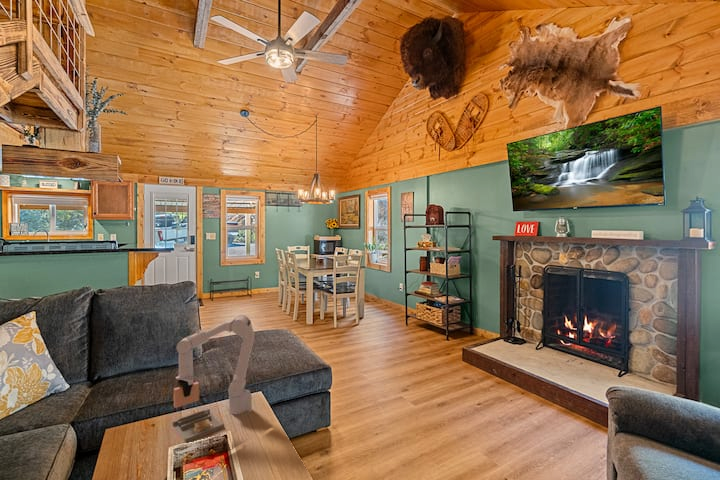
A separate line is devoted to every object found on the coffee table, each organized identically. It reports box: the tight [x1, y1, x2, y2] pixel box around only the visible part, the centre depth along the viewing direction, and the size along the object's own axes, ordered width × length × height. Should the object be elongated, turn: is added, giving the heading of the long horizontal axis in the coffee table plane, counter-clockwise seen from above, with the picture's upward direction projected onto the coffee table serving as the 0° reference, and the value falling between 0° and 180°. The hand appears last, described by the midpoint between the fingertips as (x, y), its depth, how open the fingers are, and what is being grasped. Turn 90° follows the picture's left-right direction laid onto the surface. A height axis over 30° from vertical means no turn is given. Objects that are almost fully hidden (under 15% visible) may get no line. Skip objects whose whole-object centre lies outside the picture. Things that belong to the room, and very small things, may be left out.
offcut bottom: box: [194, 423, 213, 433], centre depth 139 cm, size 6×4×2 cm, turn 142°
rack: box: [172, 408, 225, 444], centre depth 142 cm, size 15×17×2 cm
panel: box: [173, 381, 200, 409], centre depth 152 cm, size 10×2×8 cm, turn 134°
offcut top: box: [195, 419, 210, 431], centre depth 139 cm, size 5×4×2 cm
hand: (186, 395), depth 152 cm, fingers closed on panel, 2 cm apart
